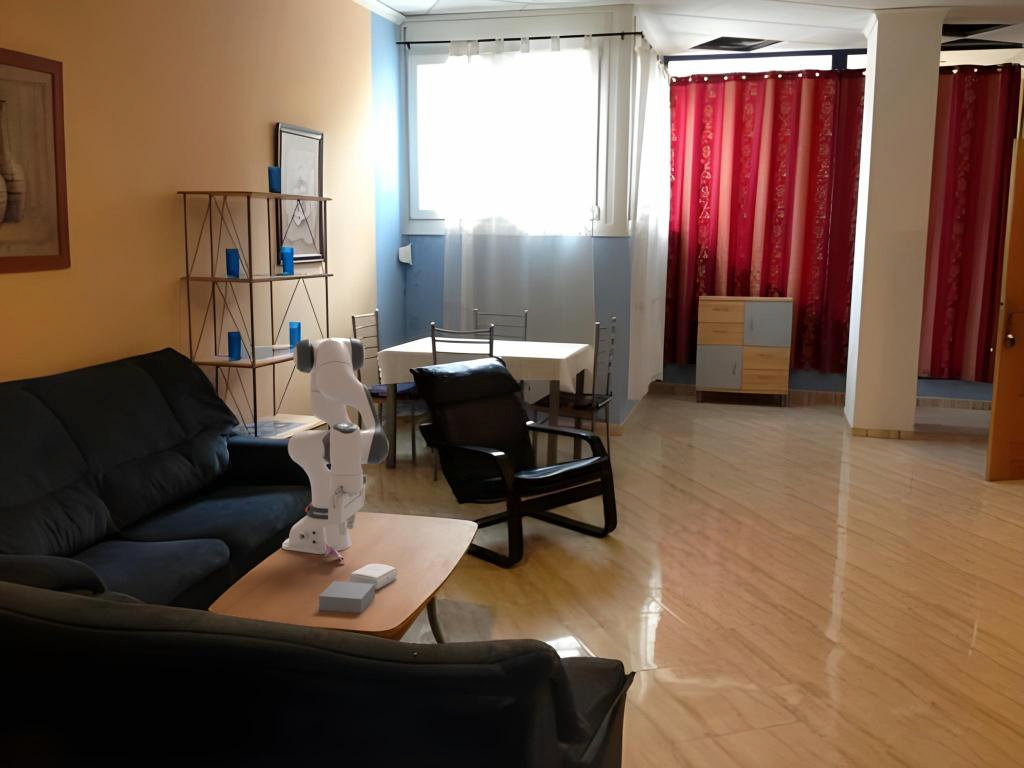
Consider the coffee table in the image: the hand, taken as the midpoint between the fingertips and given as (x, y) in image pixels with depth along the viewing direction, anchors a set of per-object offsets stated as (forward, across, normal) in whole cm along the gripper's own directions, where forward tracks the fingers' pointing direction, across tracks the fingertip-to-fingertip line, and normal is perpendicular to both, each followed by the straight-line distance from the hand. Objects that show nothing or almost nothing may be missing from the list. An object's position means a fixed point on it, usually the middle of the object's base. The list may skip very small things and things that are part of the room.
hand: (346, 531), depth 252 cm
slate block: (+21, 0, 0) cm, 21 cm away
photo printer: (+19, +12, -1) cm, 22 cm away
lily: (+21, +29, +18) cm, 40 cm away
